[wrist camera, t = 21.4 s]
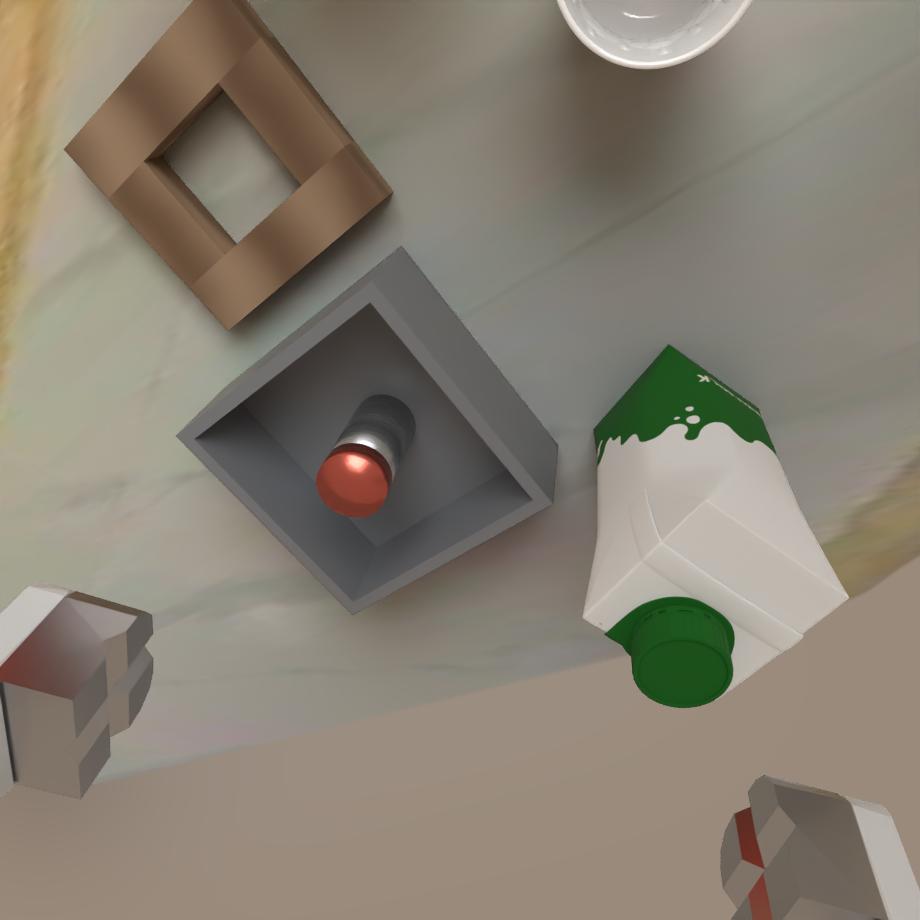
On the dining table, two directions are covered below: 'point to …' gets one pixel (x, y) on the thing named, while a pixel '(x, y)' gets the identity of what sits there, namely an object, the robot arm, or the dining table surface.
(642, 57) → the white cup
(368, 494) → the red and grey cylinder
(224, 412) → the bin
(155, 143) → the socket block
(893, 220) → the dining table surface
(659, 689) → the milk carton
